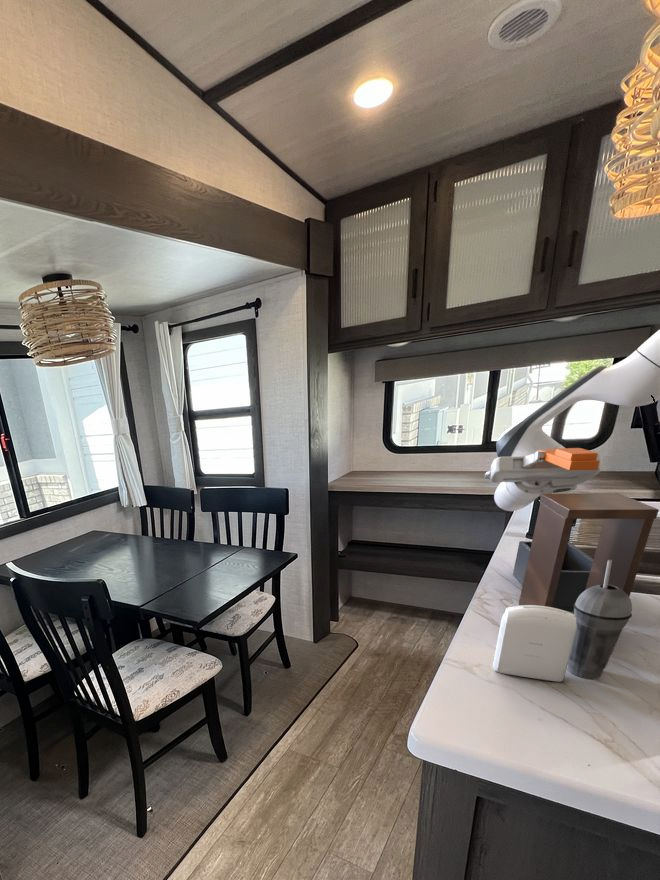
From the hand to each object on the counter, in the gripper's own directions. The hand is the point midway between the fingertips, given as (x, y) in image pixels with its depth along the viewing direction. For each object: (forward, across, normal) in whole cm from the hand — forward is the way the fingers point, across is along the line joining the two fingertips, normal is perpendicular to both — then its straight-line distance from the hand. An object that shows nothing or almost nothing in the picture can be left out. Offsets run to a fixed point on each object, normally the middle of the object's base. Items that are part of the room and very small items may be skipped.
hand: (558, 453), depth 95 cm
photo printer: (+15, -10, +45) cm, 49 cm away
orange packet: (+3, 0, +3) cm, 4 cm away
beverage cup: (+14, -1, +44) cm, 46 cm away
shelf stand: (+2, 0, +37) cm, 37 cm away
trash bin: (-17, +6, +26) cm, 32 cm away
